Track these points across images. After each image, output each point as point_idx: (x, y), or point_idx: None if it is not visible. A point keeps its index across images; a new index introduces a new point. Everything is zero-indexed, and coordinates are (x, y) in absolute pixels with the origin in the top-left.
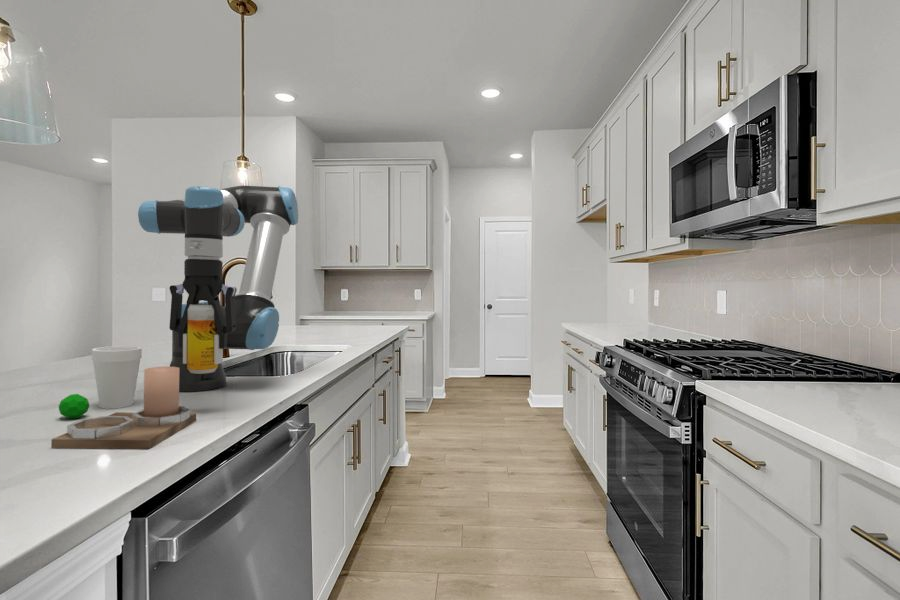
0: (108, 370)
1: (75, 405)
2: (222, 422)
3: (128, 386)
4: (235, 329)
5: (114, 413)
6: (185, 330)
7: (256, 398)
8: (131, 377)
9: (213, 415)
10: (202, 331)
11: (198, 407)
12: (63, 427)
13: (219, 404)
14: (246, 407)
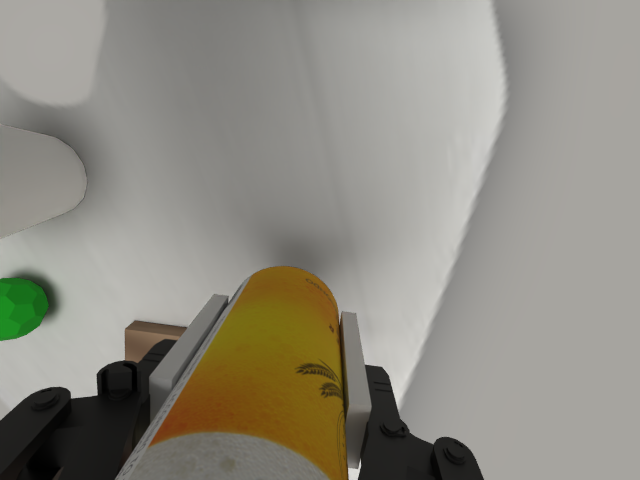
0: None
1: (22, 335)
2: (371, 361)
3: (44, 207)
4: (465, 447)
5: (127, 339)
6: (139, 434)
7: (419, 109)
8: (23, 206)
9: (337, 302)
10: None
11: (276, 218)
12: (67, 367)
13: (323, 186)
14: (404, 228)
